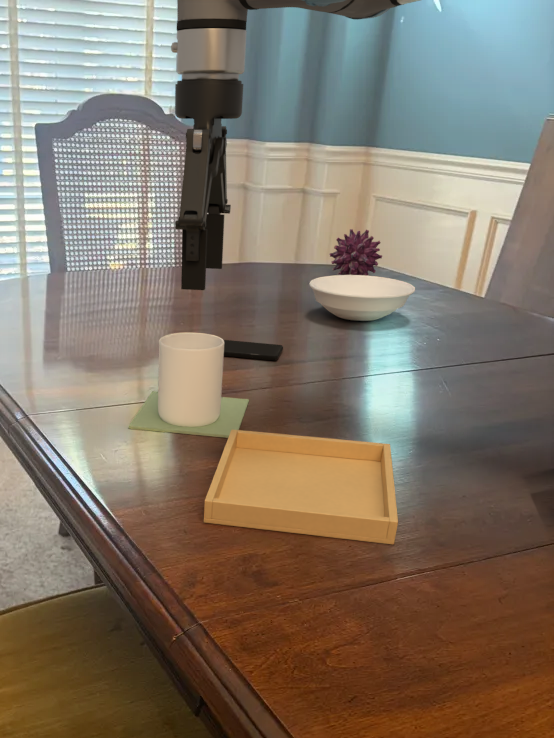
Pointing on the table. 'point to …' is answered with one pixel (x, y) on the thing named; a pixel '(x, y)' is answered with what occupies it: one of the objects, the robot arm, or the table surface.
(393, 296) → the bowl
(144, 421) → the mat
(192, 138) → the robot arm
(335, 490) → the tray
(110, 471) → the table surface
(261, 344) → the smartphone
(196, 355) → the cup
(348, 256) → the purple spiky ball
